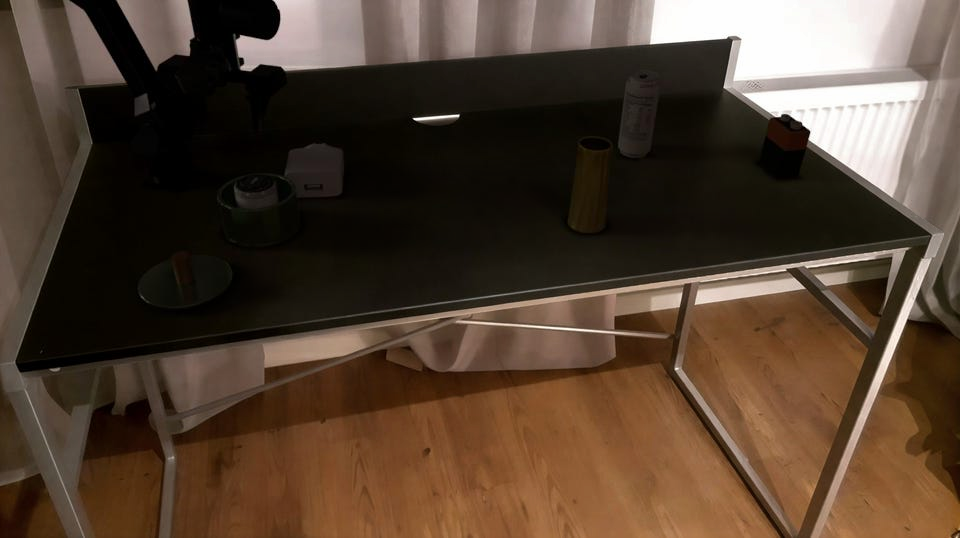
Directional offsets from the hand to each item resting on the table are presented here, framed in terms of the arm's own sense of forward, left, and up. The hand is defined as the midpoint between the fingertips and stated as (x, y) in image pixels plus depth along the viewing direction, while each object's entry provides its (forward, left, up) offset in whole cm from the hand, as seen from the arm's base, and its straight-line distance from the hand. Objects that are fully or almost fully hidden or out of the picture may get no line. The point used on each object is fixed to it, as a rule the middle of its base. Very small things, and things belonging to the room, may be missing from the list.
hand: (230, 127), depth 124 cm
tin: (+7, -7, -13) cm, 16 cm away
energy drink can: (+61, +36, -13) cm, 72 cm away
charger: (+8, +11, -13) cm, 19 cm away
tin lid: (+4, -24, -12) cm, 27 cm away
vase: (+56, +8, -13) cm, 58 cm away
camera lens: (+7, -7, -13) cm, 16 cm away
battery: (+87, +36, -13) cm, 95 cm away
